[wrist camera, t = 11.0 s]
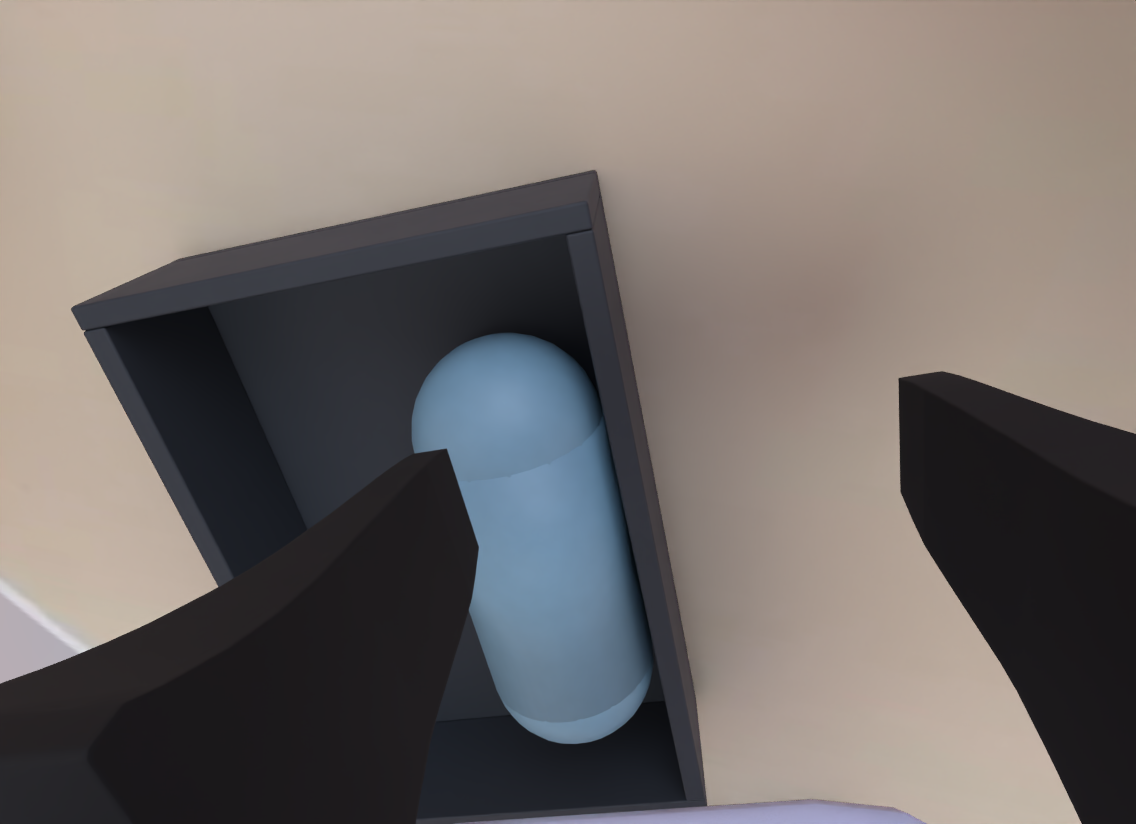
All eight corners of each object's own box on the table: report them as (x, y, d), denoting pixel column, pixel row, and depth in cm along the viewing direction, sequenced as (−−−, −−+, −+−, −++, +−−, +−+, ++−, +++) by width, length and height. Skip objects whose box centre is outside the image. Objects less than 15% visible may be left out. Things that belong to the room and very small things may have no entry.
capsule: (560, 641, 26) (688, 673, 24) (483, 753, 23) (624, 805, 20) (464, 307, 21) (617, 300, 18) (341, 382, 17) (512, 387, 14)
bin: (695, 698, 27) (708, 812, 23) (389, 726, 29) (350, 836, 24) (596, 169, 18) (587, 200, 14) (178, 258, 20) (68, 308, 16)
